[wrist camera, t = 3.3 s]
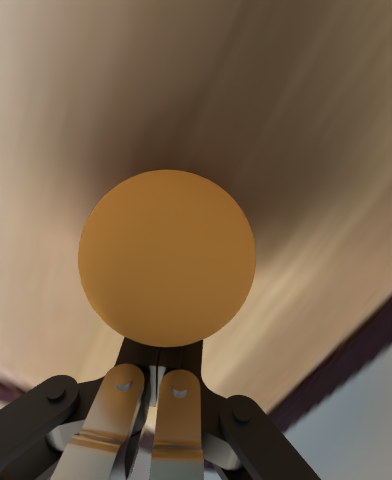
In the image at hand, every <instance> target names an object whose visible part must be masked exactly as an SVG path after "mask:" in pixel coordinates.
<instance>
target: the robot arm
mask: <svg viewBox="0 0 392 480" xmlns="http://www.w3.org/2000/svg"><path fill="white" fill-rule="evenodd" d="M202 349H203V340H200V341H198V342H195V343H192V344H188V345H184V346H177V347H157V346H150V345H146V344H142V343H139V342H136V341H133V340H131V339H129V338H127V337H124V340H123V343H122V346H121V349H120V352H119V355H118V358H117V361H116V364H115V366H114V367H113V368H112V369H110V370H109V371H108V372H107V374H106V375H105V376H104V377H102V378H100V379H97V380H94V381H89V382H84V383H78V384H77V382H76V380H75V379H74V378H72V377H70V376H67V375H57V376H53V377H51V378H49V379H47V380H45V381H44V382H42V383H41V384H39V385H37V386H36V387H34V388H33V389H31V390H30V391H28V392H27V393H25V394H24V395H22V396H20V397H19V398H17V399H16V400H14V401H13V402H11V403H10V404H8V405H7V406H5V407H3V408H2V409H0V480H47V479H48V478H49V477H50V476H51V475H52V478H51V480H130V478H131V475H132V472H133V468H134V464H135V461H136V457H137V454H138V450H139V447H140V443H141V440H142V436H143V432H144V429H145V423H146V419H147V414H148V409H149V406H153V407H156V402H157V397H158V402H157V407H158V409H157V419H156V428H155V438H154V446H153V449H152V457H151V467H150V477H149V480H204V467H203V458H204V459H206V460H208V461H210V462H212V463H213V465H214V468H215V470H216V471H217V473H218V474H219V476H220V478H221V479H222V480H321V479H320V478H319V477H318V476H317V474H316V473H315V472H314V471H313V469H312V468H311V467H310V466H309V465H308V464H307V462H306V461H305V460H304V459H303V458H302V457H301V455H300V454H299V453H298V452H297V451H296V449H295V448H294V447H293V446H292V445H291V443H290V442H289V441H288V440H287V439H286V438H285V436H284V435H283V434H282V433H281V432H280V430H279V429H278V428H277V427H276V426H275V424H274V423H273V422H272V421H271V420H270V419H269V417H268V416H267V415H266V414H265V413H264V411H263V410H262V409H261V408H260V407H259V406H258V404H257V403H256V402H255V401H253V400H252V399H251V398H249V397H246V396H243V395H234V396H231V397H229V398H227V399H226V398H224V397H222V396H220V395H217V394H215V393H213V392H212V391H211V390H209V389H208V388H207V387H206V385H205V384H204V382H203V380H202V377H201V363H202Z"/></svg>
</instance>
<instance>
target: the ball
mask: <svg viewBox="0 0 392 480" xmlns="http://www.w3.org/2000/svg"><path fill="white" fill-rule="evenodd" d="M78 267H79V274H80V279H81V283H82V286H83V289H84V292H85V294H86V296H87V298H88V300H89V302H90V304H91V306H92V307H93V309H94V310H95V311H96V313H97V314H98V315H99V316H100V317H101V318H102V320H103V321H104V322H105V323H106V324H107V325H109V326H110V327H111V328H112V329H113V330H115V331H116V332H118V333H119V334H121V335H123V336H125V337H127V338H129V339H131V340H133V341H136V342H139V343H142V344H146V345H150V346H157V347H177V346H184V345H188V344H192V343H195V342H198V341H200V340H203V339H205V338H207V337H209V336H211V335H212V334H214V333H216V332H217V331H218V330H220V329H221V328H222V327H224V326H225V325H226V324H227V323H228V322H229V321H230V320H231V319H232V318H233V317H234V316H235V315H236V313H237V312H238V311H239V309H240V308H241V306H242V305H243V303H244V302H245V300H246V297H247V295H248V293H249V291H250V289H251V286H252V282H253V279H254V274H255V267H256V250H255V242H254V237H253V234H252V230H251V228H250V225H249V222H248V220H247V218H246V216H245V215H244V213H243V211H242V210H241V208H240V207H239V205H238V204H237V203H236V201H235V200H234V199H233V198H232V197H231V196H230V195H229V194H228V193H227V192H226V191H225V190H223V189H222V188H221V187H220V186H218V185H217V184H215V183H213V182H212V181H210V180H208V179H206V178H204V177H201V176H199V175H196V174H193V173H189V172H185V171H179V170H155V171H149V172H145V173H141V174H139V175H136V176H133V177H131V178H129V179H127V180H125V181H123V182H121V183H120V184H118V185H117V186H115V187H114V188H113V189H111V190H110V191H109V192H108V193H107V194H106V195H105V196H104V197H103V198H102V199H101V200H100V201H99V202H98V203H97V205H96V206H95V208H94V209H93V211H92V212H91V214H90V215H89V217H88V219H87V221H86V223H85V226H84V228H83V232H82V235H81V239H80V242H79V252H78Z"/></svg>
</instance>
